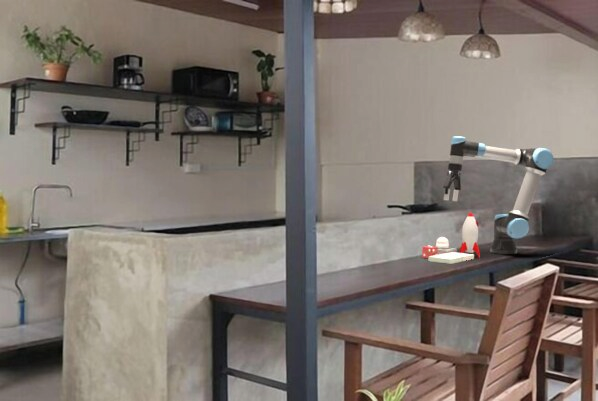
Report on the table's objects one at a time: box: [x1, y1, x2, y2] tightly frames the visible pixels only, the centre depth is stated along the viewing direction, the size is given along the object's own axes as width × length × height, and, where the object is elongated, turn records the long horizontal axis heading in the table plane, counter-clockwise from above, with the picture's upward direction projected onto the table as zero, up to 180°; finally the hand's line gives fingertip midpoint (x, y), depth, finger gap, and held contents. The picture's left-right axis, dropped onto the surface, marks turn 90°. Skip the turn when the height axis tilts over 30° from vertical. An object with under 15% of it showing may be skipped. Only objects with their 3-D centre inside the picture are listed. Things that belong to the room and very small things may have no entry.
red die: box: [421, 245, 437, 259], centre depth 356 cm, size 7×7×7 cm
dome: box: [435, 236, 450, 250], centre depth 366 cm, size 7×7×8 cm
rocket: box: [459, 212, 481, 259], centre depth 364 cm, size 11×11×25 cm
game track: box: [428, 252, 475, 265], centre depth 348 cm, size 27×13×2 cm, turn 138°
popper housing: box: [437, 247, 458, 255], centre depth 367 cm, size 12×12×4 cm
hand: (450, 200), depth 365 cm, fingers open, 13 cm apart
